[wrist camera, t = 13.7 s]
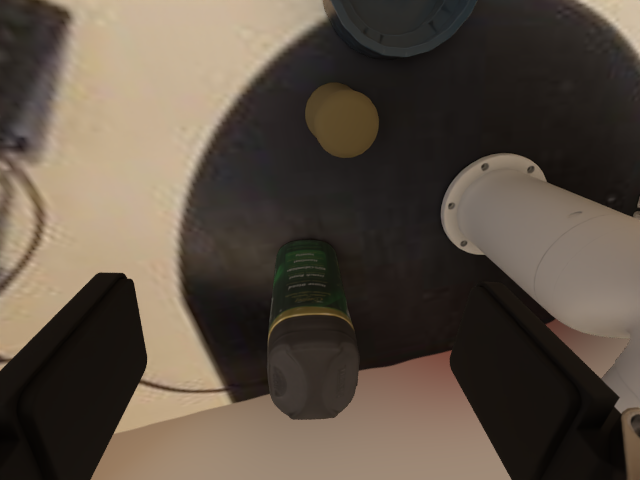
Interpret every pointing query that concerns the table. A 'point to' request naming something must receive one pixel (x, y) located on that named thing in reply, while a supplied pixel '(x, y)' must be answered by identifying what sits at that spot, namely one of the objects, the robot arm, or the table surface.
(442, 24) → the bowl
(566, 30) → the table surface
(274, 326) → the coffee jar
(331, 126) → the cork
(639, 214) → the robot toy
